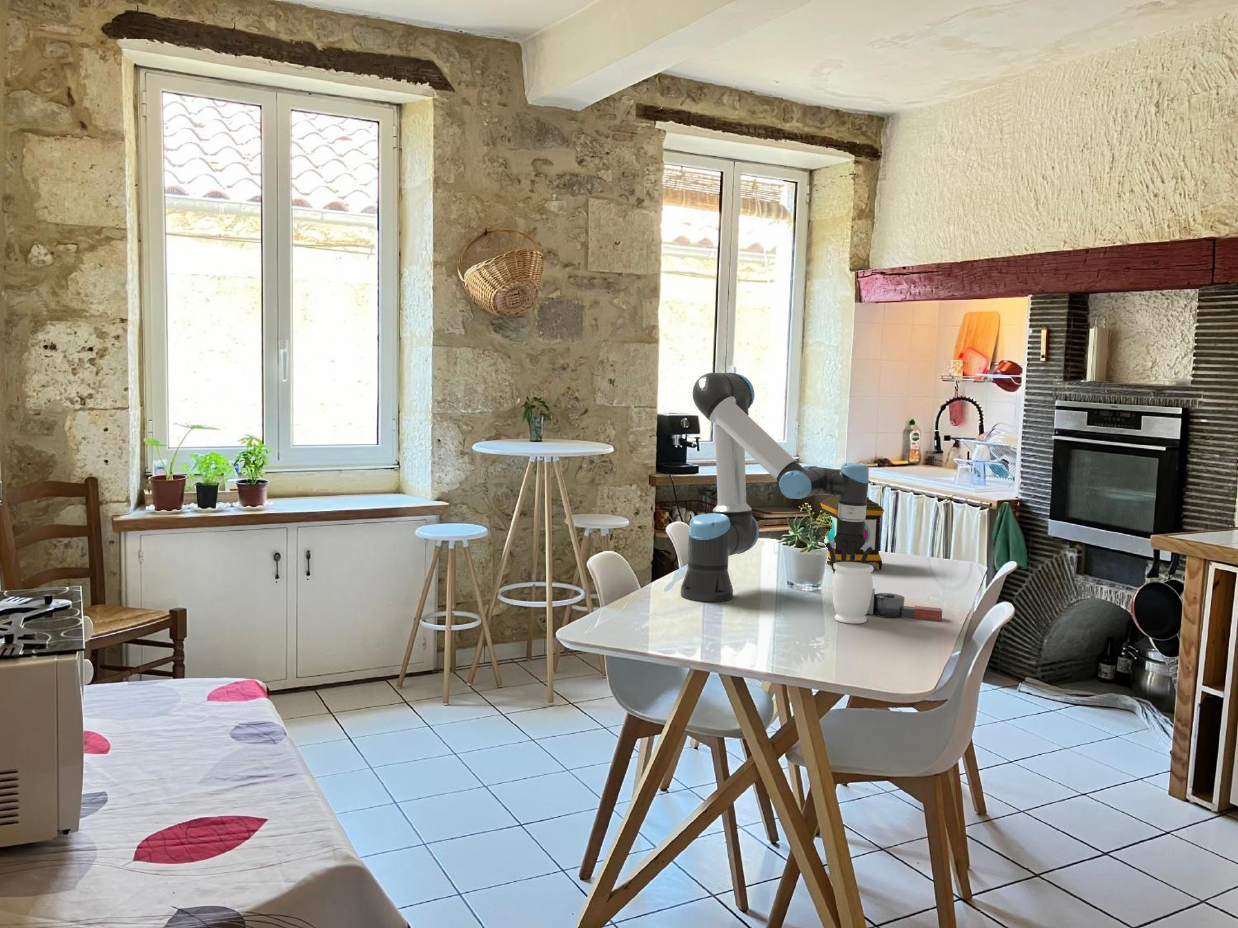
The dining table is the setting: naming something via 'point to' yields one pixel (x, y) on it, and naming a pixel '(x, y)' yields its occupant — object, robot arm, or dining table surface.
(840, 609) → the jar
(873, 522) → the decorative lantern
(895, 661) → the dining table surface
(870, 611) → the grey cube
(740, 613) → the dining table surface
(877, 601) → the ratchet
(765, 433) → the robot arm
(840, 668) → the dining table surface
